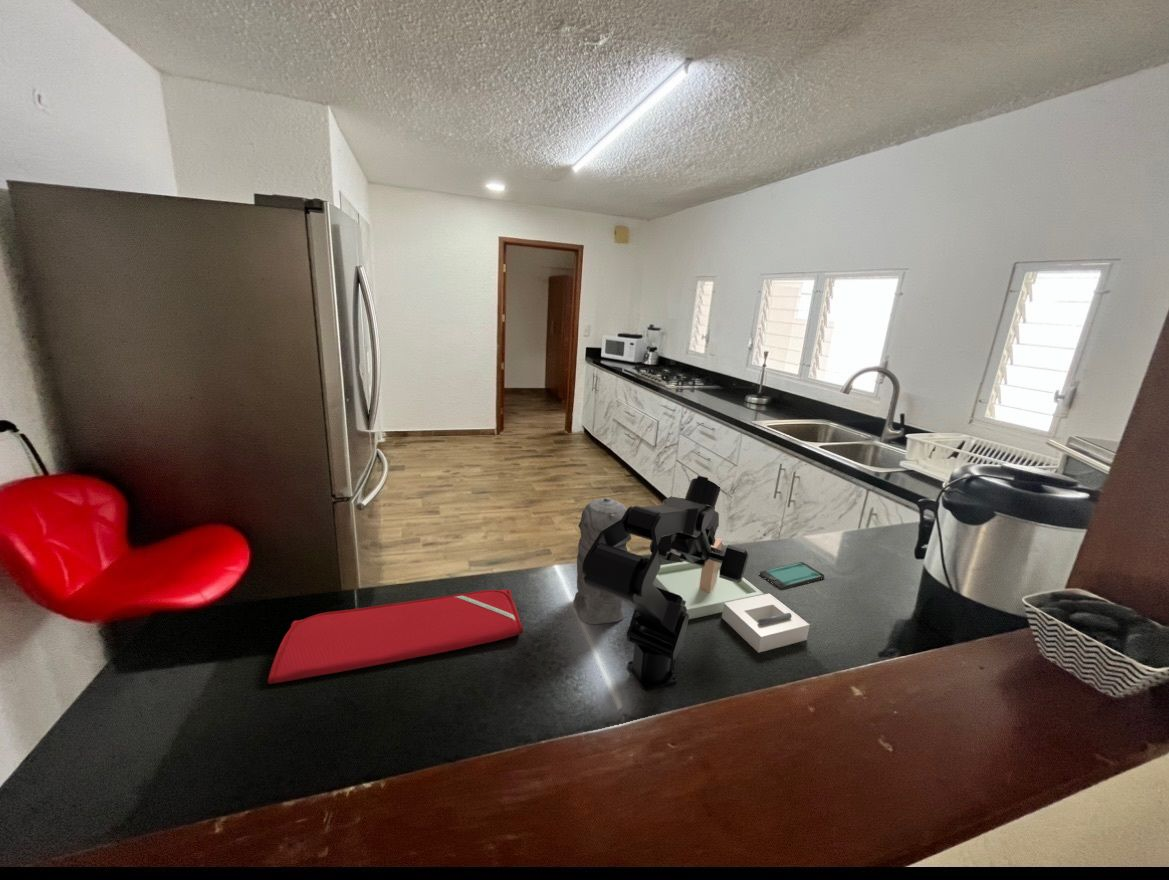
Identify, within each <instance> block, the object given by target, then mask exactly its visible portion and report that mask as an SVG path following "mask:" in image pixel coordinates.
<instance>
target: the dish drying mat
mask: <svg viewBox="0 0 1169 880" xmlns="http://www.w3.org/2000/svg"><path fill="white" fill-rule="evenodd" d="M523 632H524V628H523V624H522V622H521V619H520V617H519V614H518V610H517V606H516V603H515V602H514V599H513V595H512V592H511V589H499V590H498V589H488V590H478V591H471V592H466V593H459V594H458V593H457V594H452V595H445V596H438V597H430V598H424V599H423V598H422V599H416V600H410V601H403V602H396V603H388V604H380V605H373V606H367V607H361V608H360V607H359V608H353V609H344V610H335V611H334V610H333V611H327V612H326V611H325V612H322V613H317V614H315V615H314V614H313V615H311V616H308V617H306V618H304V619H303V618H302V619H300V620H294V621H292V623H291V625H290V628H289V629H288V630H287V632H286V633H285V635H284V636H283V638H282V640H281V641H280V644H279V646H278V649H277V650H276V654H275V656H274V659H273V662H272V664H271V667H270V670H269V674H268V678H267V683H268V684H269V685H272V684H278V683H285V682H288V681H295V680H301V679H307V678H312V677H319V676H324V675H330V674H337V673H341V672H346V671H352V670H358V669H363V668H369V667H373V666H380V665H385V664H390V663H394V662H400V661H405V660H409V659H414V658H419V657H425V656H430V655H436V654H440V653H441V654H443V653H447V652H450V651H456V650H461V649H465V648H470V647H475V646H478V645H483V644H488V643H493V642H497V641H502V640H504V639H508V638H511V637H515V636H517V635H521V634H523Z"/></svg>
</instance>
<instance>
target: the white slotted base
mask: <svg viewBox="0 0 1169 880" xmlns="http://www.w3.org/2000/svg"><path fill="white" fill-rule="evenodd" d="M721 618H722V619H723V620H724V621H725V622H726V623H727V624H728V625H729V626H730V627H731V628H732V629H733V630H734V631H735V632H736V633H737V634H738V635H740V637H741V638H742V639H743V640H744V641H746V643H748V644H749V645H750V646H751V647H752V648H753V649H754V650H755V651H756V652H757V653H762V652H766V651H770V650H775V649H777V648H781V647H782V648H783V647H787V646H789V645H792V644H796V643H801V642H804V641H807V640H808V634H809V631H810V625H811V624H810V623H809V622H807V621H806V620H804V619H803V618H802V617H801V616H799V615H798V614H797V613H795V611H793V610H792V609H790V608H789V607H788V606H786V605H785V604H784V603H782V601H780V600H778V598H776V597H775V596H773V595H772V594H771V593H764V595H759V596H754V597H749V598H745V599H740V600H735V601H730V602H726V603H724V606H723V612H721Z"/></svg>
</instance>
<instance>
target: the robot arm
mask: <svg viewBox="0 0 1169 880" xmlns="http://www.w3.org/2000/svg"><path fill="white" fill-rule="evenodd" d="M720 493H721V486H719V485H718V484H716V483H715V482H713V481H711V480H709V477H706V476H703V475H702V476H701V475H697V477H695V478H693V479H691V480H690V483H689V486H688V489H687V491H686V494H685V496H684V497H678V496H669V497H667V498H665V499H663V501H662V504H661V505H649V506H638V505H635V506H632V505H631V506H629V507H628V508H626V509H627V511H626V512H625V514H624V516H623V517H622V519H621V520H619V521H618V522H616V523H614V524H613V525H611V526H609V527H608V528H606V529H604V530H603V531H601V532H600V534H599V535H598V537H597V538H596V540H595V542H594V543H593V545H592V546H591V548H590V550H589V551H588V553H587V555H586V557H585V559H584V562H583V568H582V570H583V574H584V575H585V576H584V582H585V584H586V585H587V586H589V587H592V588H594V589H597V590H599V591H602V592H605V593H607V594H610V595H612V596H615V597H617V598H620V599H623V601H624V602H625V603H626V604H627V605H628V606H629V607H631V608H632V609H634V610H633V613H632V616H631V620H630V623H629V626H628V628H627V631H626V639H627V642H632V643H634V646H633V648H634V649H633V657H632V660H630V661H628V662H627V666H628V668H629V670H630V671H631V672H632V674H633V675H634V677H635V679H636V681H637V682H638V684H639V686H640V687H641V688H642V690H644V691H646V692H647V691H650V690H654V689H657V688H661V687H665V686H669V685H672V684H676V683H677V682H678V678H677V676H676V674H674V672H675V670H676V669H675V668H676V662H677V661H676V660H677V655H678V654H679V652H680V651H681V649H682V648H683V646H684V642H685V638H686V632H687V628H688V624H689V620H690V619H689V614H687V613H686V612H687V609H686V606H685V603H686V601H684V600H683V598H682V597H681V596H680V595H677V594H675V593H672V592H669V591H666V590H663V589H661V588H658V587H655V586H654V585H653V582H654V580H655V578H656V576H657V574H658V572H659V570H660V566H661V565H662V564H661V560H660V559H663V560H666V561H669V562H673V563H678V562H684V561H686V562H689V563H692V564H695V565H698V566H701V567H704V566H705V563H706V561H708V559H710V560H713V561H716V562H719V563H722V564H721V567H720V573H719V575H720V576H719V577H720V578H723V579H726V580H729V581H733V582H736V583H739V582H741V581H742V578H744V574H745V570H746V567H747V564H748V561H749V553H748V551H747V550H746V549H743V548H740V547H736V546H733V545H730V544H728V545H727V547H726V549H725V550H723V549H721V550H719V549H716V548H712V547H711V545H712V546H714V543H715V538H716V537H715V536H716V532H717V530H718V528H719V526H720V525H719V523H720V518H719V517H720V513H719V512H718V511H716V505H717V501H718V499H719V495H720ZM629 534H631V535H634V536H637V537H639V538H643V539H646V540H649V541H651V542H650V544H649V551H650V553H651V555H650V557H649V558H648V557H645V556H643V555H638V554H637V553H633V552H631V551H628V552H627V551H624V550H621V549H618V548H615V547H613V546H615V545H616V544H618V543H619V542H621V541H623V540H624V539H626V538H627V537H628V536H629ZM712 552H713V553H712ZM714 552H715V553H714ZM716 553H717V554H716ZM718 554H719V555H718Z"/></svg>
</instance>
